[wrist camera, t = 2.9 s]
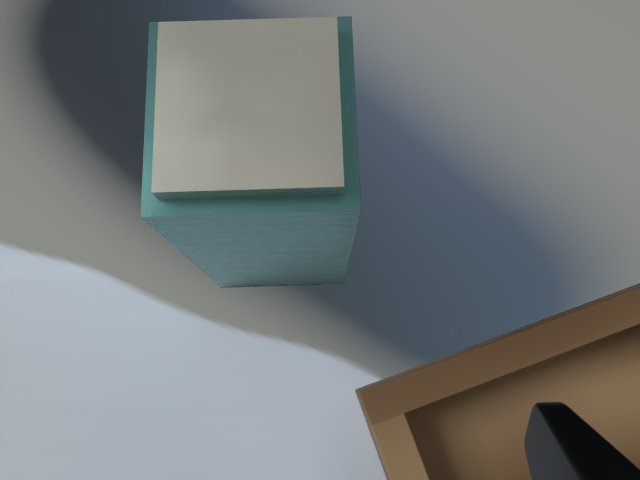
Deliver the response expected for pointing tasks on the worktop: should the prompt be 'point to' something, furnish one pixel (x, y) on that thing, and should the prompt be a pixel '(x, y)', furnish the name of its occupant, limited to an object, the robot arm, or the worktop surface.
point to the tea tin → (254, 147)
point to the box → (511, 395)
